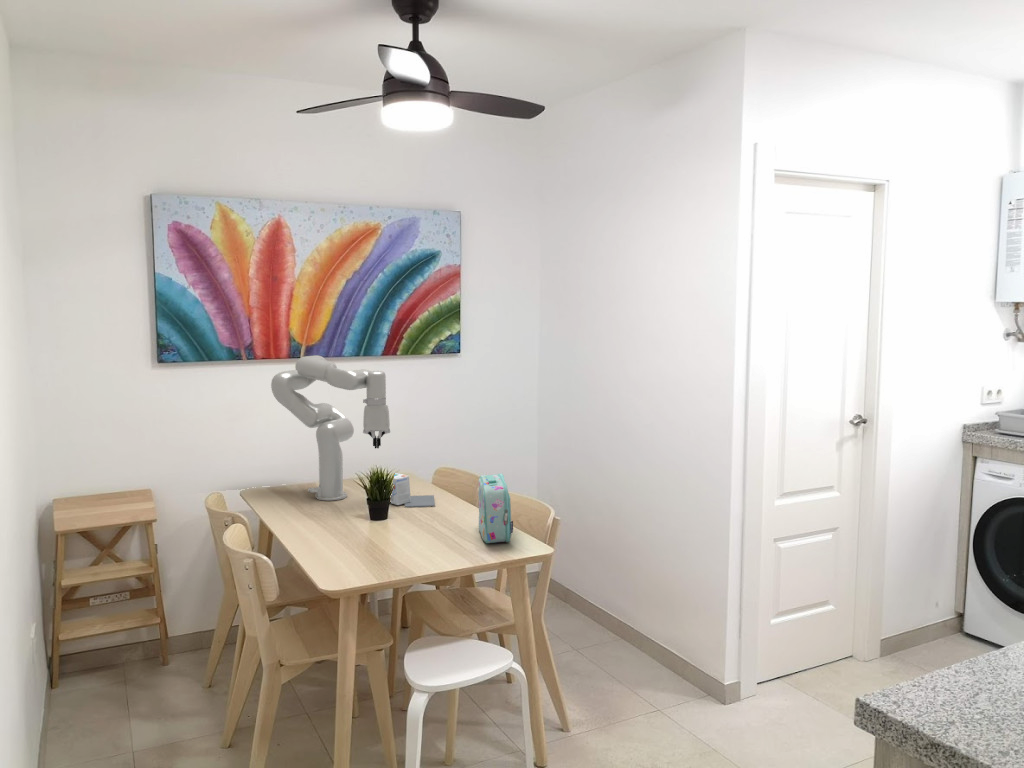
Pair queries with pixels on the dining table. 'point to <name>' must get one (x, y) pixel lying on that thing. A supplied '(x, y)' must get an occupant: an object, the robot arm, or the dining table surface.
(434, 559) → the dining table surface
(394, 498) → the light bulb box
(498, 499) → the lunch box
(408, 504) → the mat
